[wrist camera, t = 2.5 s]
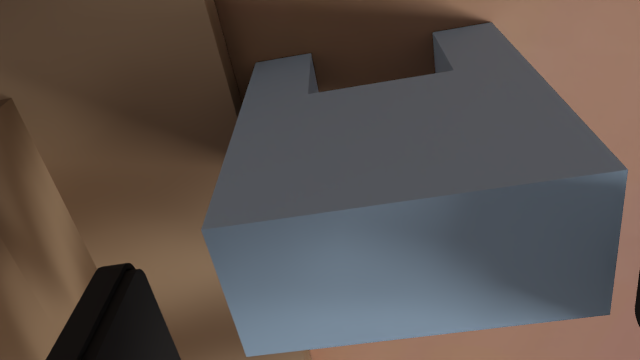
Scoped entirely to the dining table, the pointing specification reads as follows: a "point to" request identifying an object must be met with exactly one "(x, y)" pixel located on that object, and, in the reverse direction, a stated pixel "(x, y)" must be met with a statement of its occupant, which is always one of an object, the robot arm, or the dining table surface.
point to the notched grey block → (412, 203)
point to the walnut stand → (113, 164)
